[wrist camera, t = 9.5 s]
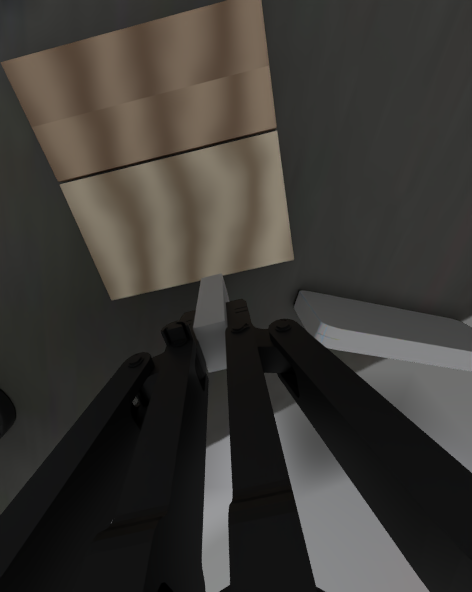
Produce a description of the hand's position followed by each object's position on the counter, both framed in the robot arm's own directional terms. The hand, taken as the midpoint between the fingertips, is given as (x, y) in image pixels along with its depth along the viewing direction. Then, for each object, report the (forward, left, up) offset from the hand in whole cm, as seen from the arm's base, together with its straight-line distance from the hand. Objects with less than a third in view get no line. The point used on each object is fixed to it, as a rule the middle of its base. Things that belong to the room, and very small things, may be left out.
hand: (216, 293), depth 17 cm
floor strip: (-3, +16, -15) cm, 22 cm away
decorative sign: (+23, -17, -16) cm, 33 cm away
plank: (-3, +3, -15) cm, 16 cm away
